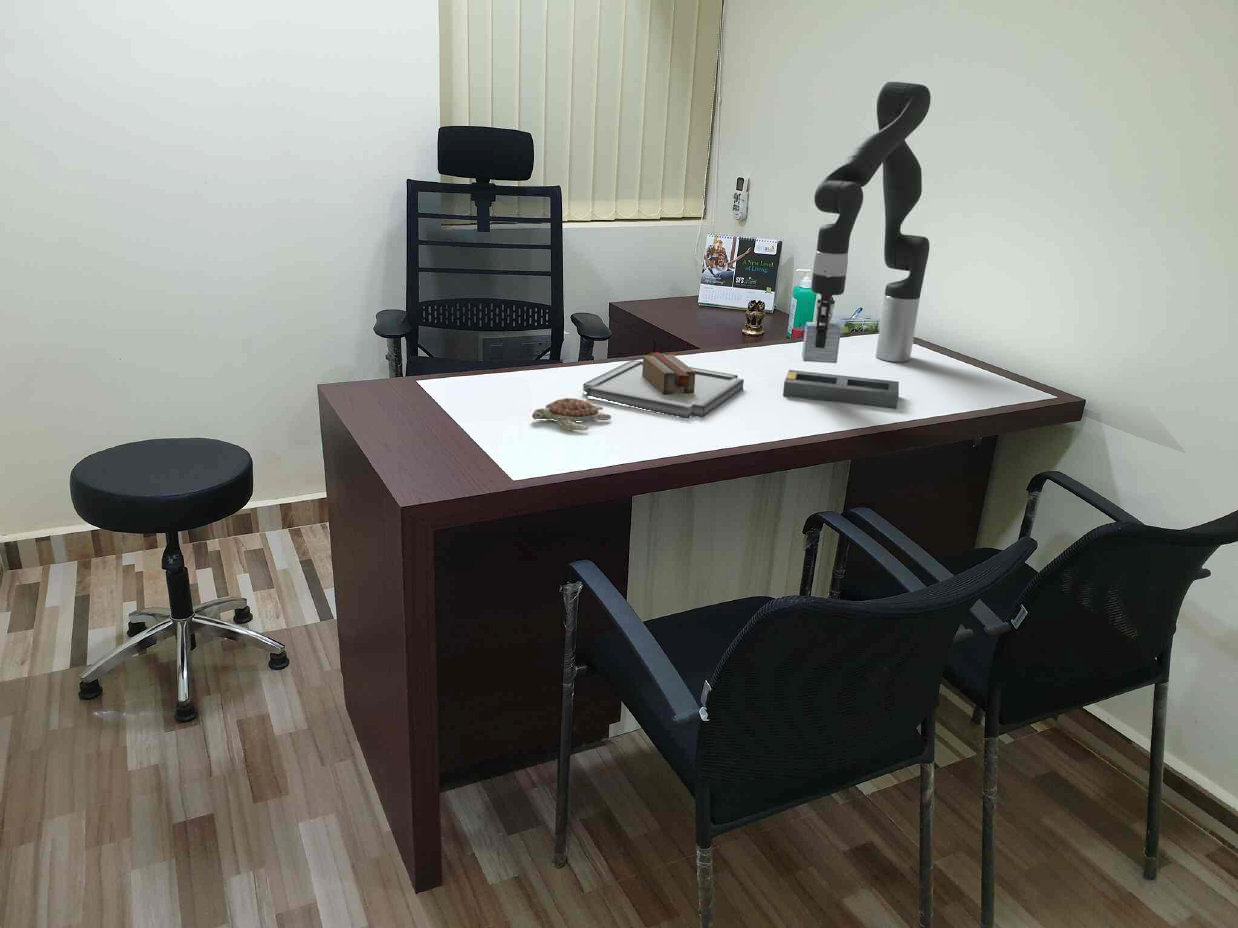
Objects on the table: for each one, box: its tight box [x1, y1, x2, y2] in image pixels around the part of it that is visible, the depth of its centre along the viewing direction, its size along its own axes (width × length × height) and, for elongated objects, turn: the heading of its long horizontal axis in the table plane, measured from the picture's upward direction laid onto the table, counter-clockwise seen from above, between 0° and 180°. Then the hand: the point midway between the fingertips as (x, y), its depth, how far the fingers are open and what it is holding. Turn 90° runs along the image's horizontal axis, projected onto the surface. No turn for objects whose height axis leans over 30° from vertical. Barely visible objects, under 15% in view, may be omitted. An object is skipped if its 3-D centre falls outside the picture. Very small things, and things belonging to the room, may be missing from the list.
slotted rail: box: [782, 369, 900, 410], centre depth 217 cm, size 11×26×4 cm, turn 74°
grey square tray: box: [582, 352, 745, 420], centre depth 214 cm, size 30×30×8 cm
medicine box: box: [801, 321, 842, 364], centre depth 215 cm, size 8×4×9 cm, turn 84°
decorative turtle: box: [531, 397, 612, 431], centre depth 194 cm, size 18×17×5 cm
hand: (820, 344), depth 215 cm, fingers closed on medicine box, 5 cm apart
